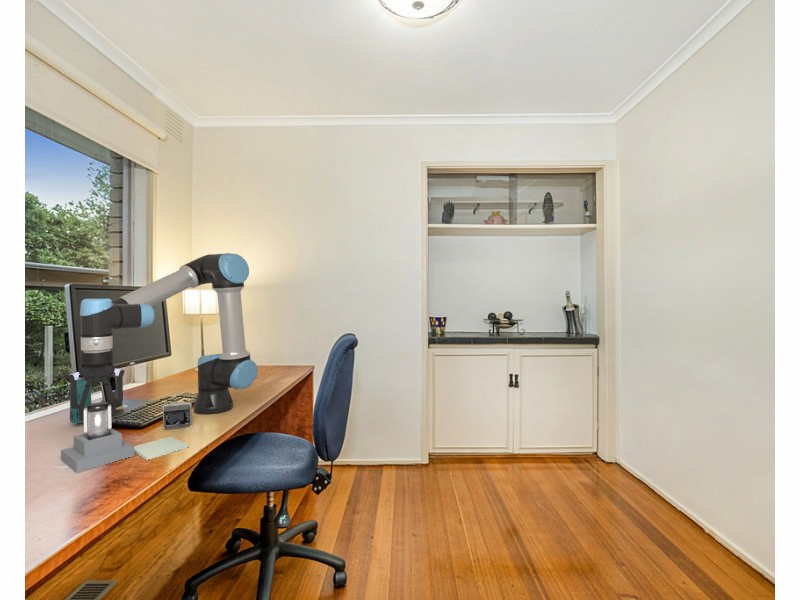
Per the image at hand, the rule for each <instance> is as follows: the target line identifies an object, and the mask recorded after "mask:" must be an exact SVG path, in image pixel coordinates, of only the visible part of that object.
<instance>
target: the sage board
mask: <svg viewBox="0 0 800 600" xmlns="http://www.w3.org/2000/svg"><path fill="white" fill-rule="evenodd" d="M133 446H134V454H135V453H136V454H135V455H137V454H138V455H139V456H138V455H137V456H138V457H140V456H141V457H140V458H142V457H143V458H142V459H143V460H145V459H146V460H145V461H148V459H150V460H152V458H153V459H154V458H155V457H156V458H159V457H162V455H163V456H165V455H169V454H172V452H173V453H175V452H174V451H176V452H179V451H181V449H183V450H185V449H184V448H186V449H188V448H189V444H188V443H185V442H184V441H181V440H180V439H177V438H175V437H173V436H167V437H164V438H160V439H156V440H153V441H150V442H145V443H142V444H138V445H133ZM187 447H188V448H187ZM178 450H179V451H178ZM156 458H155V459H156Z"/></svg>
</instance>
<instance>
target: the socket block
mask: <svg viewBox="0 0 800 600" xmlns="http://www.w3.org/2000/svg"><path fill="white" fill-rule="evenodd" d="M134 446H135V445H132V444H131V443H129V442H127V441H125V440H124V439H123V433H121V432H120V431H118V430H116V429H114V428H112V427H111V428H110V429H109V436H105V437H101V438H96V439H92V440H88V432H84V433H80V434H77V435H73V446H72V447H67V448H64V449H61V450H60V460H61V462H63V463H64V464H65V465H66V466H67V467H69V468H70V469H71V470H72V471H74V472H75V474H79V473H82V471H83V472H86V471H88V470H89V469H90V470H92V468H93V469H96V468H99V467H98V466H100V467H102V465H103V466H106V465H105V464H107V465H109V464H108V463H110V464H113V463H112V462H114V463H116V462H115V461H117V462H119V461H118V460H121V459H124V460H126V459H125V458H127V459H129V458H128V457H131V458H133V457H132V456H134V457H135V453H134ZM121 461H122V460H121ZM95 467H96V468H95ZM85 470H86V471H85Z"/></svg>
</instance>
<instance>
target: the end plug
mask: <svg viewBox="0 0 800 600" xmlns="http://www.w3.org/2000/svg"><path fill="white" fill-rule="evenodd" d="M108 405H109V402H107V401H103V402H93V403H91V404H89V405H87V426H88V431H87V433H88V440H92V439H96V438H101V437H105V436H109V429H108Z"/></svg>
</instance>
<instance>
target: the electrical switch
mask: <svg viewBox="0 0 800 600" xmlns="http://www.w3.org/2000/svg"><path fill="white" fill-rule="evenodd" d="M192 406H193V405H192V402H190V401H187V402H175V403H164V404H162V408H161V409H162V426H163V428H164V430H165V431H169V430H177V429H185V428H186V427H188V428H189V427H190V426H191V425H192V424H193V415H192V414H193V412H192V411H193V410H192ZM186 429H187V428H186Z"/></svg>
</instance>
